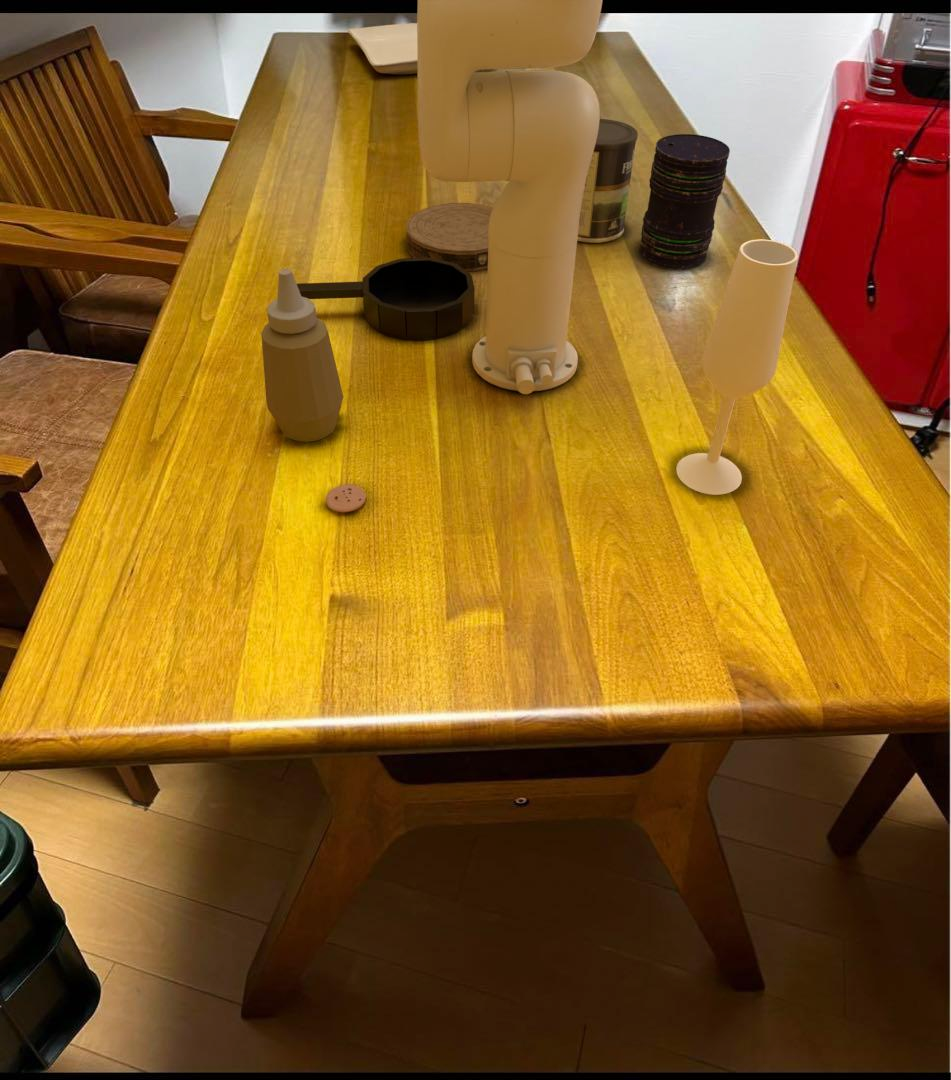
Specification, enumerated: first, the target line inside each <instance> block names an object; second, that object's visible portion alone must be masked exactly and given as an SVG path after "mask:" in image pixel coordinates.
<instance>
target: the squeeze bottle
mask: <svg viewBox="0 0 951 1080" xmlns="http://www.w3.org/2000/svg"><path fill="white" fill-rule="evenodd" d="M297 284H298V283H297V282H296V279H295V276H294V274H293V271H292V270H291V269H289V268H282V269H280V270H279V271H278V281H277V296H276V299H274V300H273V301H271V302H270V303H268V306H267V307H266V313H267V320H268V323H266V324H265V325H264V327H263V329H262V331H261V333H260V334H261V347H262V348H261V349H262V362H263V375H264V377H263V378H264V389H265V401H266V405H267V410H268V411H269V414H270V415H271V416H272V418H273V419H274V421H275V422H276V424H277V426H278V427H279V429H280V431H281V432H282V433H283V434H284V435H285V436H286V438H288V439H291V440H293V441H296V442H304V443H305V442H306V443H308V442H309V443H310V442H314V441H319V440H321V439H324V438H326V437H328V436H329V435H331V434H332V433H333V432H334V431H335V428H336V426H337V422H338V419H339V415H340V411H341V408H342V404H343V401H344V393H343V389H342V385H341V380H340V376H339V372H338V367H337V364H336V363H337V362H336V360H335V355H334V352H333V351H334V350H333V347H332V342H331V337H330V334H329V329H328V327H327V324H326V323H325V322H324V321H323V320H321V319H320V318H318V317H317V311H316V306H315V302H314V301H312V299H308V298H305V297H302V296H301V294H300V292H299V289H298V286H297Z"/></svg>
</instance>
